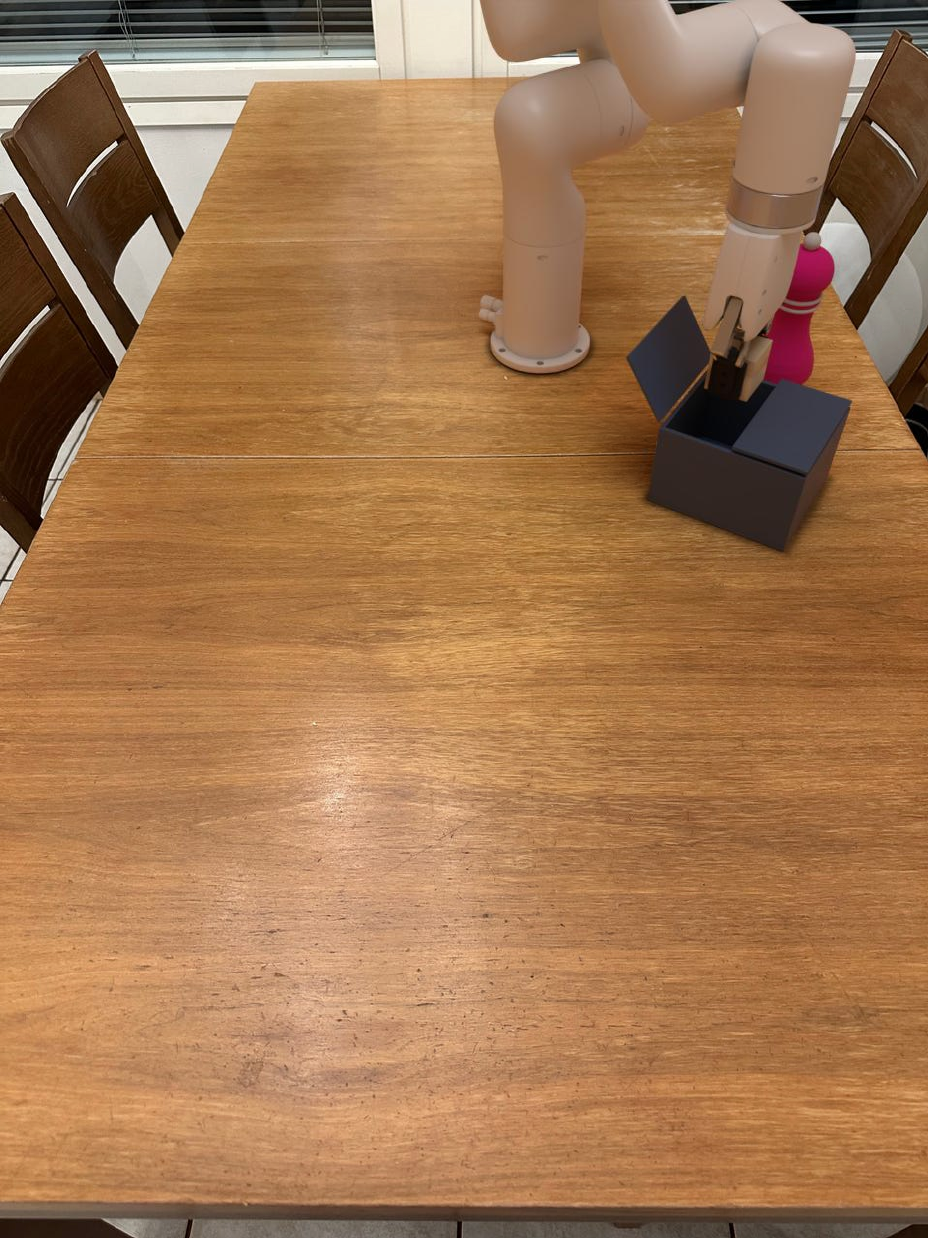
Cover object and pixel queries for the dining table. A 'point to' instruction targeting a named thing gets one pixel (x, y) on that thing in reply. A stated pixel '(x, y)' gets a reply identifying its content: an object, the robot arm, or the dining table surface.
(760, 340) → the block
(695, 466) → the carton
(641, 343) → the flap
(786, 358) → the pepper mill
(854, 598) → the dining table surface
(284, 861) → the dining table surface
